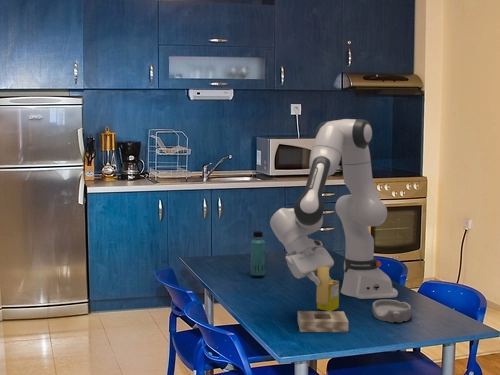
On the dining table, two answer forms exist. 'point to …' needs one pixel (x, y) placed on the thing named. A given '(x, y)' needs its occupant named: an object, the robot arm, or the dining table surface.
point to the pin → (323, 284)
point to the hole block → (322, 321)
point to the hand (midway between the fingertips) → (324, 282)
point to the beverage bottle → (258, 255)
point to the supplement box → (331, 298)
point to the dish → (391, 310)
